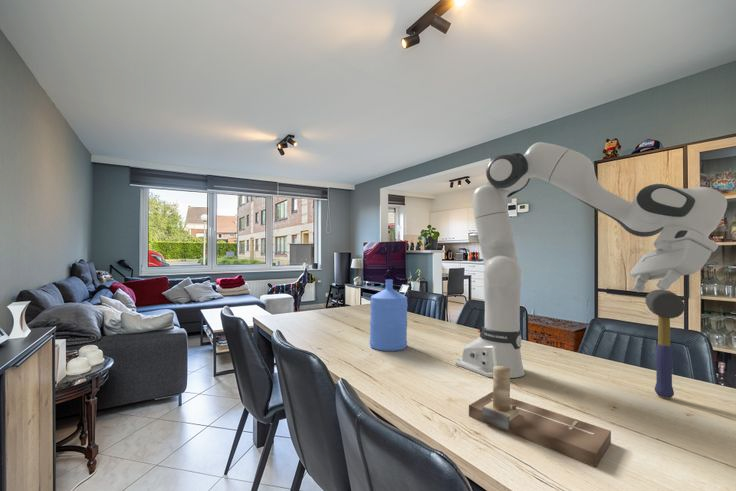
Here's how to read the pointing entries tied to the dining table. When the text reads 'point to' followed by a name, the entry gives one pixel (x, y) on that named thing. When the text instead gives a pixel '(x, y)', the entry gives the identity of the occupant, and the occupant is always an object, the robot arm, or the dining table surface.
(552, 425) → the walnut board
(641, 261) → the robot arm
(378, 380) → the dining table surface
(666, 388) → the rubber mallet
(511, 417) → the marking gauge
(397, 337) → the water jug
